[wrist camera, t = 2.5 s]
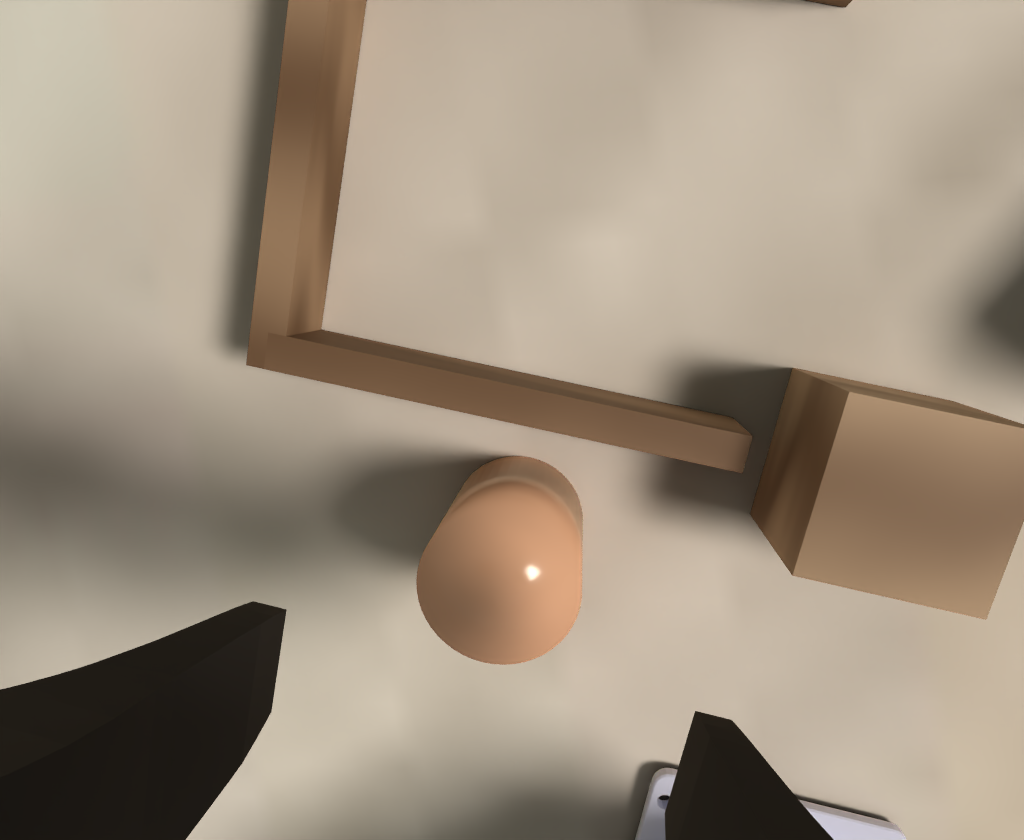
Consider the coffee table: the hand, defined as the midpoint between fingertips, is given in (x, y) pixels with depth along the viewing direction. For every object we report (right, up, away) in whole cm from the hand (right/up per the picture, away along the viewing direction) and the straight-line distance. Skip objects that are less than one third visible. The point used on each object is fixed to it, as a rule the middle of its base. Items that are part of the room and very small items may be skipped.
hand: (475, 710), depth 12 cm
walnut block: (+10, +4, +8) cm, 14 cm away
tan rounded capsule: (+1, +2, +10) cm, 10 cm away
